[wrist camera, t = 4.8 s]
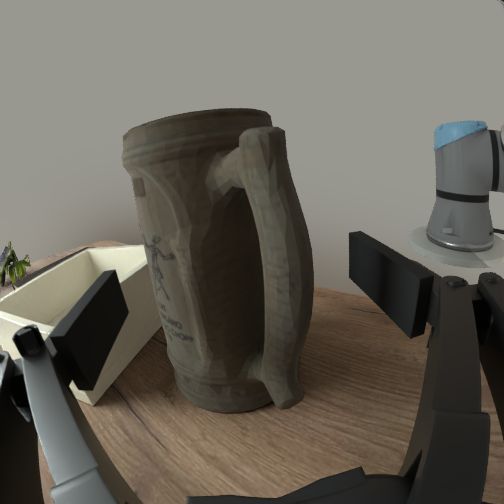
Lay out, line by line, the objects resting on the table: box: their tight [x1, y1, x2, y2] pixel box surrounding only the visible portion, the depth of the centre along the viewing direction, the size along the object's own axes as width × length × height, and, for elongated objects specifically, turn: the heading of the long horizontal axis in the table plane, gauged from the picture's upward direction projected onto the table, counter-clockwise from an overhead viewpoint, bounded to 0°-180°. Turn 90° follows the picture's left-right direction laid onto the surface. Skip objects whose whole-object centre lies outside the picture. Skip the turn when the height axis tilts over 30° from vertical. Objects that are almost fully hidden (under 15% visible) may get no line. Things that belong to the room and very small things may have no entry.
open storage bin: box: [0, 245, 162, 406], centre depth 29 cm, size 17×21×8 cm
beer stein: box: [122, 108, 314, 413], centre depth 18 cm, size 15×11×20 cm
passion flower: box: [0, 242, 31, 286], centre depth 52 cm, size 11×11×12 cm
